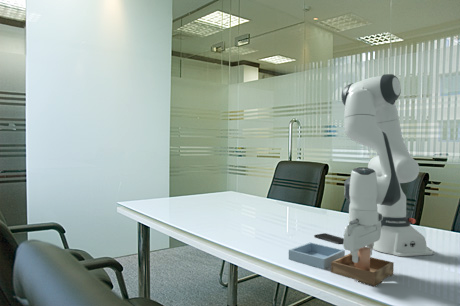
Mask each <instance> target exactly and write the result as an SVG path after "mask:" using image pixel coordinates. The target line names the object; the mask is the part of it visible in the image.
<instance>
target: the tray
mask: <svg viewBox="0 0 460 306" xmlns="http://www.w3.org/2000/svg"><path fill="white" fill-rule="evenodd" d="M394 264H395V262H393V261H389V260H384V259H381V258H376V257H372V256H370V271H367V270H363V269H359V268H355V267H354V262H353V261H352V255H351V252H350V253H347V254H345V256H343V257H341V258H339V259H337V260H334V261H332V262H331V266H330V273H333V274H336V275H340V276H343V277H346V278H349V279H353V280H355V281H358V282H357V283H360V282H361V284H364V283H365V285H367V284H369V285H368V286H370V285H372V286H371V287H374V286H375V287H377V286H378V285H380V284H381V283H383V282H382V281H384V280H385V279H386V278H388V277H392V276H394V268H395V267H394ZM379 283H380V284H379ZM376 285H377V286H376Z"/></svg>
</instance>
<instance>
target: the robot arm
mask: <svg viewBox="0 0 460 306" xmlns="http://www.w3.org/2000/svg"><path fill="white" fill-rule="evenodd" d="M401 87H402V86H401V82H400V80H399V78H398V77H397V76H396V75H395V74H393V73H386V74H382V75H378V76H372V77H367V78H366V79H363V80H362V79H361V80H359V81H357V82H354V83H352V82H351V83H349V84H348V85H345V86H344V88H343V89H342V91H341V101H342V104H343V106H344V113H343V123H344V124H343V126H344V133H345V135H346V136H347V138H349V139H350V140H352V141H353V142H354V143H357V144H359V145H362V146H365V147H367V148H369V149H372V150H373V151H375V152H376V154H377V155H375V156H374V157H372V158H371V159H370V160H369V161H368V164H367V167H355V168H353V169H352V170H351V172H350V176H349V177H347V178H346V179H345V181H344V182H343V183H344V193H343V197H344V198H345V200H347V201H348V202H349V205H348V225H346V226H345V227H344V235H343V238H344V244H342V245H343V248H344V250H345V251H350V253H351V255H352V261H353V262H355V263H357V262H359V261H360V260H359V259H360V257H359V256H358V252H359V249H361V248H363V247H368V248H370V257H372V255H373V250H375V251H377V252H380V253H384V254H389V255H394V256H397V257H413V256H415V257H416V256H431V255H434V250H433V249H431V248H430V247H428V246H427V240H426V238H425V236H424V235H423V234H422V233H420V232H419V231H418V230H417V229H416V228H414V227H413V225H414V224H415V222H416V219H415V218H413V217H409V216H407V196H406V194H405V193H404V191H403V189H402V187H401V184H405V183H410V182H413V181H414V180H416V179H418V177H419V174H420V164H419V163H418V162H417V160H415V159H414V158H413V156H412V155H411V154H410V152H409V150H408V148H407V145H406V144H405V141H404V138H403V134H402V129H401V124H400V117H399V113H398V109H397V106H396V101H397V100H398V99H399V98H400V96H401V89H402V88H401ZM411 224H413V225H412V226H411Z"/></svg>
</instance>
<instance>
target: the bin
mask: <svg viewBox="0 0 460 306" xmlns="http://www.w3.org/2000/svg"><path fill="white" fill-rule="evenodd" d="M345 252H346V250H345V249H340V248H337V247H332V246H328V245H323V244H320V243H319V244H318V243H314V242H308V243H305V244H302V245H299V246H296V247H294V248H290V249H288V260H291V261H292V262H293V261H294V262H297V263H300V264H304V265H307V266H310V267H311V266H312V267H315V268H318V269H321V270H326V269H327V268H331V262H332V261H334V260H337V259H339V258H341V257H343V256H345V255H346V254H345Z"/></svg>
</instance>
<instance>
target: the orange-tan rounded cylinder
mask: <svg viewBox="0 0 460 306" xmlns="http://www.w3.org/2000/svg"><path fill="white" fill-rule="evenodd" d="M358 256H359V257H360V259H359V260H360V261H359V262H357V263H355V262H354V267H355V268H359V269H363V270H367V271H370V257H371V256H370V248H368V247H367V246H365V247H363V248H361V249H359V252H358Z"/></svg>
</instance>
